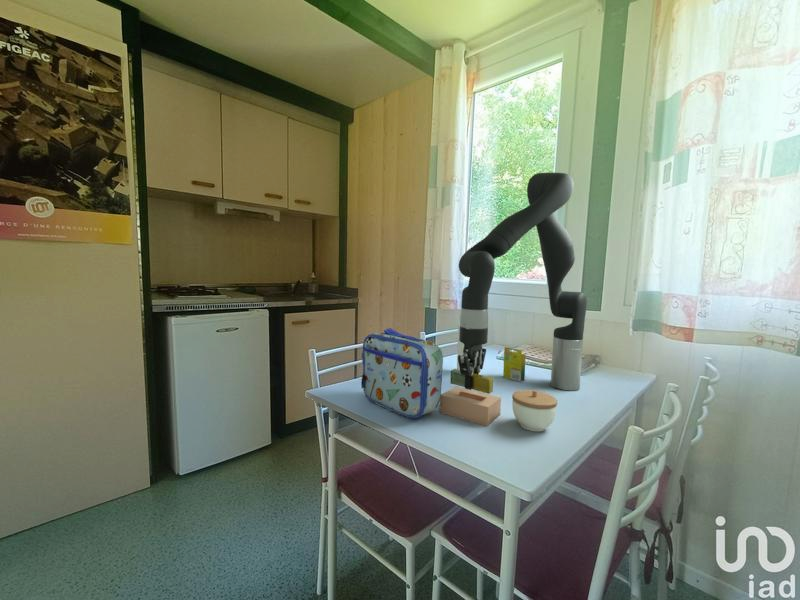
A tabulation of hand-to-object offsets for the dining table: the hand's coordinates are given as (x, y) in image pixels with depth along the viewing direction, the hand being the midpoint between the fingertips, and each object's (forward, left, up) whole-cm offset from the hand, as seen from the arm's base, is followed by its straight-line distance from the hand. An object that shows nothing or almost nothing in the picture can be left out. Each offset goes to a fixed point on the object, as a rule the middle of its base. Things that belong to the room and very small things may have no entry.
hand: (471, 387), depth 97 cm
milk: (-34, -17, -8) cm, 39 cm away
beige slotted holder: (0, 0, -8) cm, 8 cm away
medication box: (0, 0, 0) cm, 0 cm away
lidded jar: (-3, +16, -8) cm, 18 cm away
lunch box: (+9, -19, -8) cm, 22 cm away
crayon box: (-40, -1, -8) cm, 41 cm away
